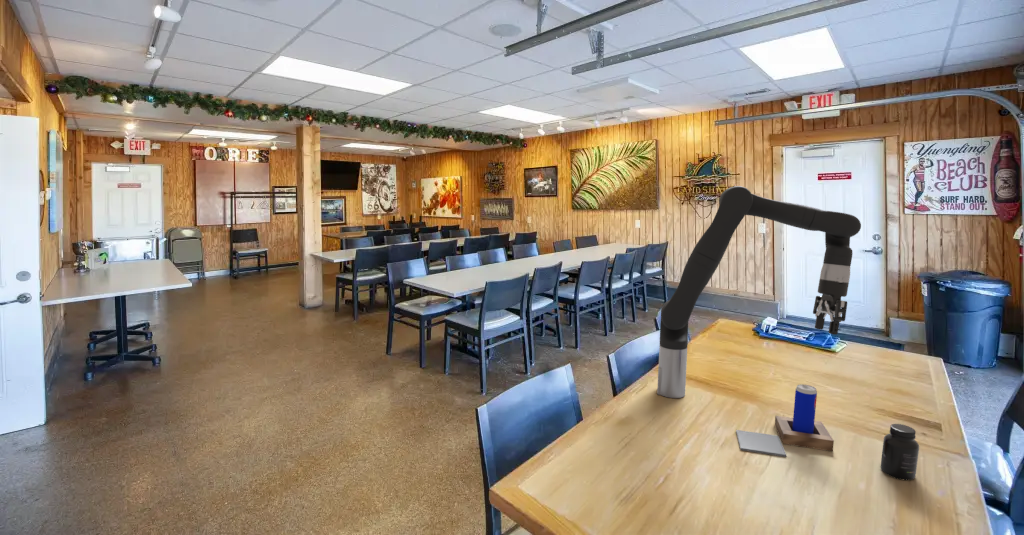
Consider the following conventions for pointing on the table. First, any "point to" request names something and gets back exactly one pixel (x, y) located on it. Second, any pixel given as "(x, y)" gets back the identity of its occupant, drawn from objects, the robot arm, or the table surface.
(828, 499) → the table surface
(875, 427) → the table surface
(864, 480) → the table surface
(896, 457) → the supplement bottle
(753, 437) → the slate coaster
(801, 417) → the beverage can
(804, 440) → the walnut holder
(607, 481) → the table surface
